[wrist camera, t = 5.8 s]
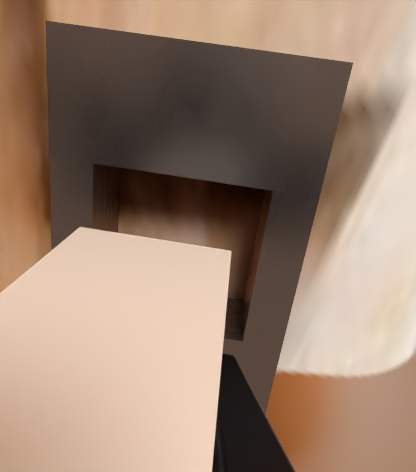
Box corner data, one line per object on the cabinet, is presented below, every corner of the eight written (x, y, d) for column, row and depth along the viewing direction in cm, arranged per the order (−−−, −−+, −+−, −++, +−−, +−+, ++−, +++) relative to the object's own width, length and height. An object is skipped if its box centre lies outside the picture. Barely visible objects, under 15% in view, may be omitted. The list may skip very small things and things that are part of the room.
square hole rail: (260, 374, 19) (262, 424, 16) (83, 344, 19) (55, 387, 16) (331, 68, 13) (353, 62, 11) (86, 34, 14) (46, 20, 11)
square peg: (211, 372, 11) (108, 1209, 3) (79, 350, 11) (-387, 1082, 3) (231, 250, 10) (143, 1259, 1) (79, 226, 10) (-842, 991, 2)
